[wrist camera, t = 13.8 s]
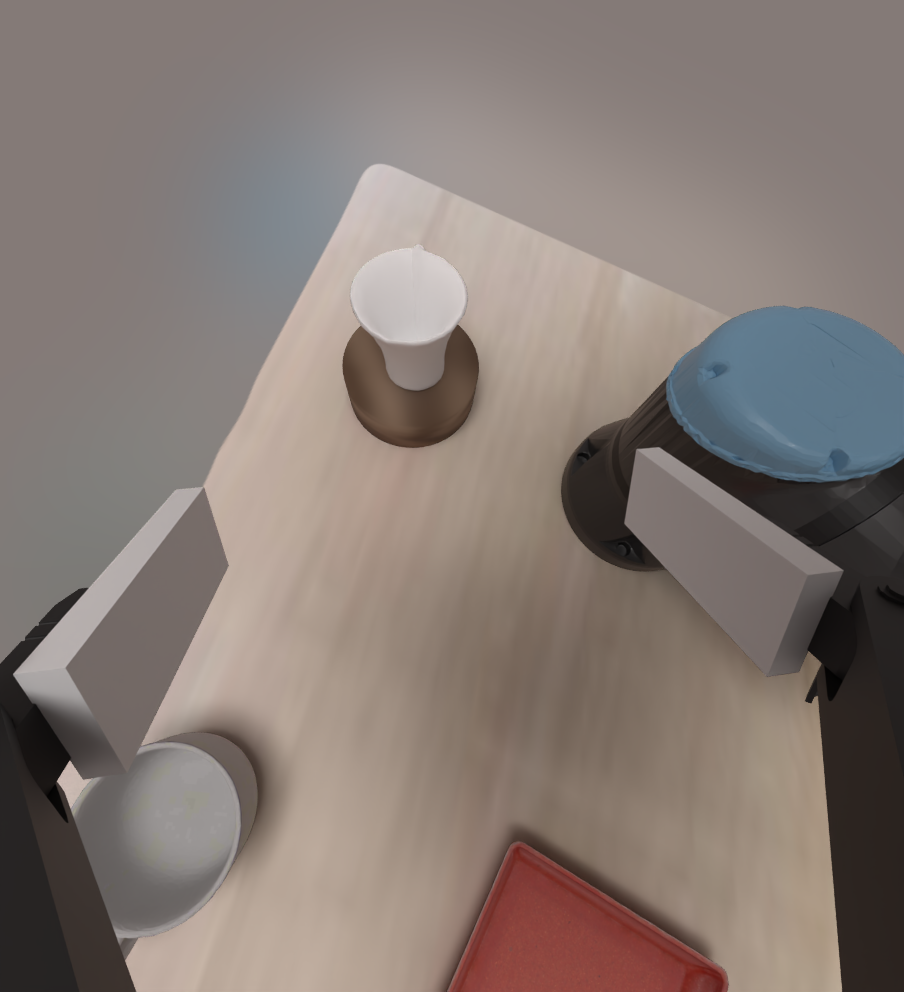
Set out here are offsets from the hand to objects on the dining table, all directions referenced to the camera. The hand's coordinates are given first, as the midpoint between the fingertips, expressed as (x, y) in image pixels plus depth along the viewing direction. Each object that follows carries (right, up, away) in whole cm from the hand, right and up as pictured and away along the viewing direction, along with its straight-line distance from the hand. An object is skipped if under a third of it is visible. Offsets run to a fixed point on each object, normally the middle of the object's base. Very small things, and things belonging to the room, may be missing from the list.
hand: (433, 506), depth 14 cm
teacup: (-20, -25, +22) cm, 39 cm away
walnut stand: (-4, +11, +34) cm, 37 cm away
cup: (-3, +13, +30) cm, 33 cm away
